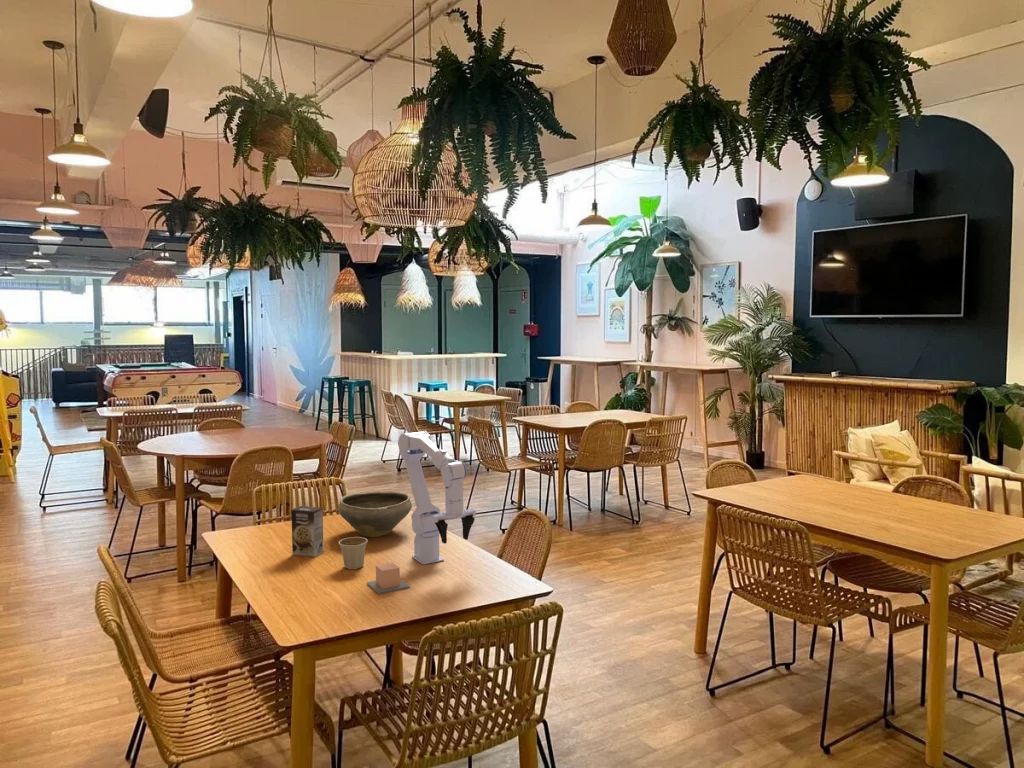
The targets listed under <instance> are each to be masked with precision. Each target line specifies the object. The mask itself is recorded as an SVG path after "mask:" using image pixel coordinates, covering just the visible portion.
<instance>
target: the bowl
mask: <svg viewBox="0 0 1024 768" xmlns="http://www.w3.org/2000/svg"><path fill="white" fill-rule="evenodd" d="M412 505H413V504H412V501H411V497H410V495H409V494H407V493H404V492H403V493H402V492H400V491H399V492H396V491H371V492H370V491H369V492H360V493H359V492H358V493H352V494H351V493H350V494H346V495H344V496H342V497H341V498H340V500H339V504H338V507H337V511H338V514H339V515H340V516H341V518H342V519H343V520H344V521H346V522H347V523H348V524H349V525H350V526H351V527H352V528H353V529H354V530H355V531H356V532H357V533H358V534H360V536H361V537H362V536H363V537H365V538H366V537H368V538H377V537H378V538H379V537H382V536H385V535H389V534H390V533H391V532H392V531H393V530H394V528H395V527H396V526H398V525H399V523H401V521H403V520H404V519H405V518H406V517H407V516H408V515H409V513H410V512H411V510H412V507H413V506H412Z"/></svg>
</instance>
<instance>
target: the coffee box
mask: <svg viewBox="0 0 1024 768" xmlns="http://www.w3.org/2000/svg"><path fill="white" fill-rule="evenodd" d="M290 510H291V544H292V545H291V547H292V550H291V551H292V552H291V553H292V555H293V556H302V557H311V558H312V557H314V558H316V557H317V556H319V555H321V554H323V553H324V508H323V507H316V506H306V505H301V506H298V507H297V506H296V507H294V508H293V509H290Z"/></svg>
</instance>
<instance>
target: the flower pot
mask: <svg viewBox="0 0 1024 768" xmlns="http://www.w3.org/2000/svg"><path fill="white" fill-rule="evenodd" d="M368 541H369V540H368V539H367V538H366V537H364V536H363V537H362V536H353V537H352V536H351V537H345V538H342V539H340V540H339V541H338V545H339V549H340V550H341V554H342V560H343V567H344V568H345V569H348V570H358V569H360V568H363V567H364V564H365V556H366V555H365V553H366V547H367V544H368Z"/></svg>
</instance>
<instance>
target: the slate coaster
mask: <svg viewBox="0 0 1024 768" xmlns="http://www.w3.org/2000/svg"><path fill="white" fill-rule="evenodd" d="M366 585H367V586H368V587H369V588H371V589H372V590H373V591H374V592H375V591H376V592H377V593H376V594H377V595H381V593H383V594H386V593H387V594H388V593H391V592H396V590H397V591H401V589H402V590H406V588H407V589H410V585H409V584H408V583H407V582H405V581H404V580H403V579H401V578H400V585H398V586H393V587H388V588H384V589H383V588H382V587H380V586H379V585H378V584H377V583H376V580H372V581H367V582H366Z"/></svg>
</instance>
